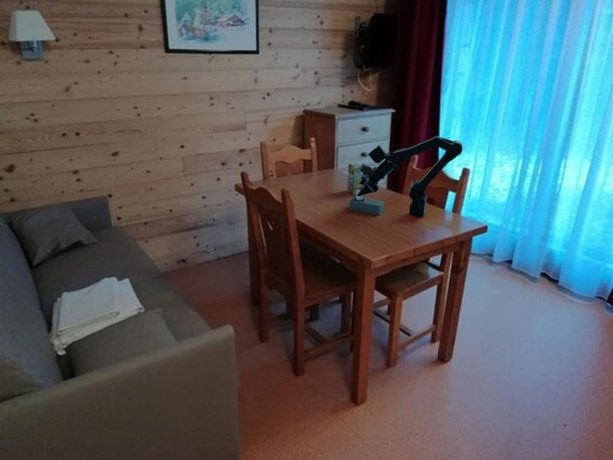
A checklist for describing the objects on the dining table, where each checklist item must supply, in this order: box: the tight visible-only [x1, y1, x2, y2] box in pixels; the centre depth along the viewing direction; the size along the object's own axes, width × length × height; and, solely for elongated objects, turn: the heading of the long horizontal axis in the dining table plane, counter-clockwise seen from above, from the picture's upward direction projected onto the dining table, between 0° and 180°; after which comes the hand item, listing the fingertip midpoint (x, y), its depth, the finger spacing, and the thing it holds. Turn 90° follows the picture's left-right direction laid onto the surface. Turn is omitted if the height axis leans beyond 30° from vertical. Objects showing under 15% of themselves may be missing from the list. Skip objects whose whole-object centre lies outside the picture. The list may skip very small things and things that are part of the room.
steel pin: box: [355, 184, 364, 202], centre depth 217 cm, size 3×3×12 cm
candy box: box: [347, 162, 363, 196], centre depth 240 cm, size 9×4×15 cm, turn 17°
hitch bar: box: [348, 196, 385, 216], centre depth 217 cm, size 15×7×4 cm, turn 64°
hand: (356, 192), depth 216 cm, fingers open, 9 cm apart
